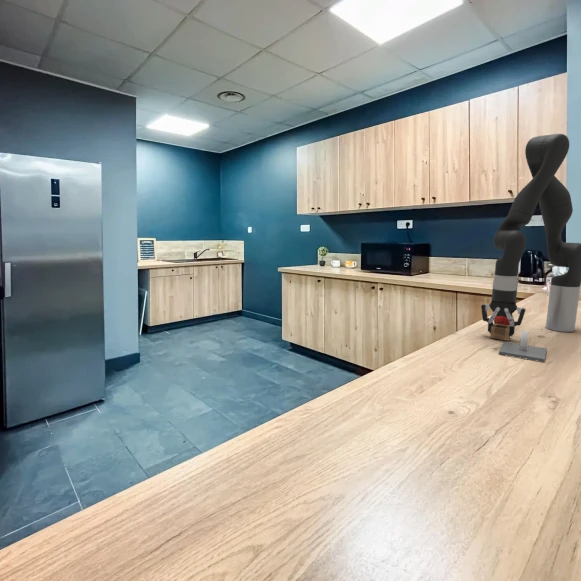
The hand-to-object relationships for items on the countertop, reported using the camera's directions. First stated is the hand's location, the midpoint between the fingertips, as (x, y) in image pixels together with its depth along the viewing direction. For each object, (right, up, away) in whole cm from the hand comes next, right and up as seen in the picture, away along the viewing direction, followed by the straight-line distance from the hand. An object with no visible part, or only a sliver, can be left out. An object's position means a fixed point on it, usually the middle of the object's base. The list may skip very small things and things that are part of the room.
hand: (500, 334), depth 135 cm
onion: (+6, 0, +10) cm, 12 cm away
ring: (0, -1, 0) cm, 1 cm away
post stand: (-1, -4, -15) cm, 16 cm away
